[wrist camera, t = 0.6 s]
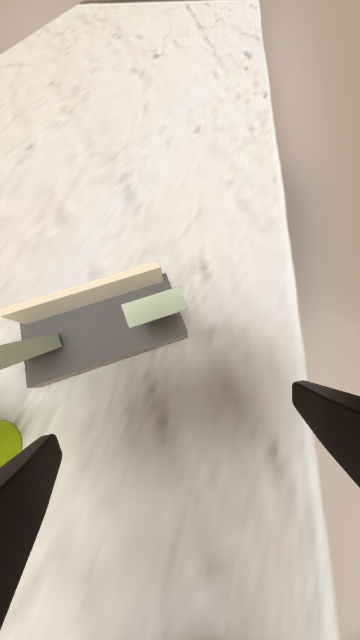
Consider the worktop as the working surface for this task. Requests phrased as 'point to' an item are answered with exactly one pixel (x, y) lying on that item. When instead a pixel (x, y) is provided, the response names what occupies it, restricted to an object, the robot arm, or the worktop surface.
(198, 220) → the worktop surface
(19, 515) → the robot arm
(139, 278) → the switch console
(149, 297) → the flip switch
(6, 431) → the soap dispenser
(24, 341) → the hold switch
